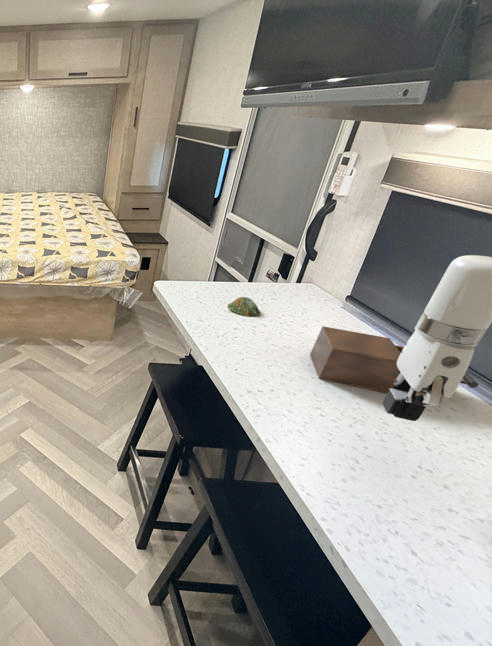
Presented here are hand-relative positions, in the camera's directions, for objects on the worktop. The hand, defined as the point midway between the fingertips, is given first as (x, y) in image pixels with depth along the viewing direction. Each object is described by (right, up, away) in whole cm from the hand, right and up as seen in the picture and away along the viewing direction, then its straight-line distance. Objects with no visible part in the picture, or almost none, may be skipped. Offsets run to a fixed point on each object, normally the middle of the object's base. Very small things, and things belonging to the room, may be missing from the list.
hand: (400, 410), depth 76 cm
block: (0, 0, 0) cm, 0 cm away
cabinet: (+19, +2, +32) cm, 37 cm away
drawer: (+30, +1, +26) cm, 40 cm away
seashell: (+11, +20, +65) cm, 69 cm away
